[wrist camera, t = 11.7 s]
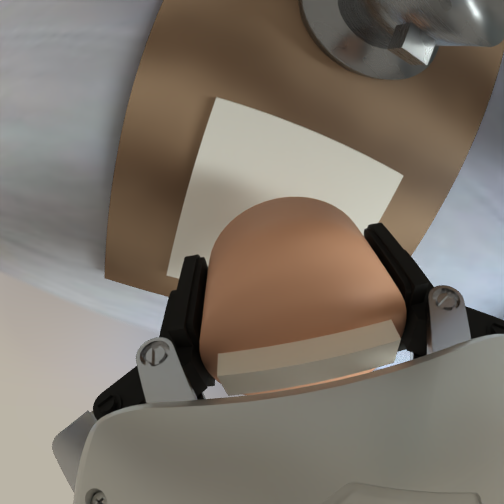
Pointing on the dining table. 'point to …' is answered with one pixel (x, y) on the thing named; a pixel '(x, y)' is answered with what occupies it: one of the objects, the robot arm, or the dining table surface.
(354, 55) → the round metal knob
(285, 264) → the cap
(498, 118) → the dining table surface
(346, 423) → the robot arm
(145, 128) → the board
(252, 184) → the pad
